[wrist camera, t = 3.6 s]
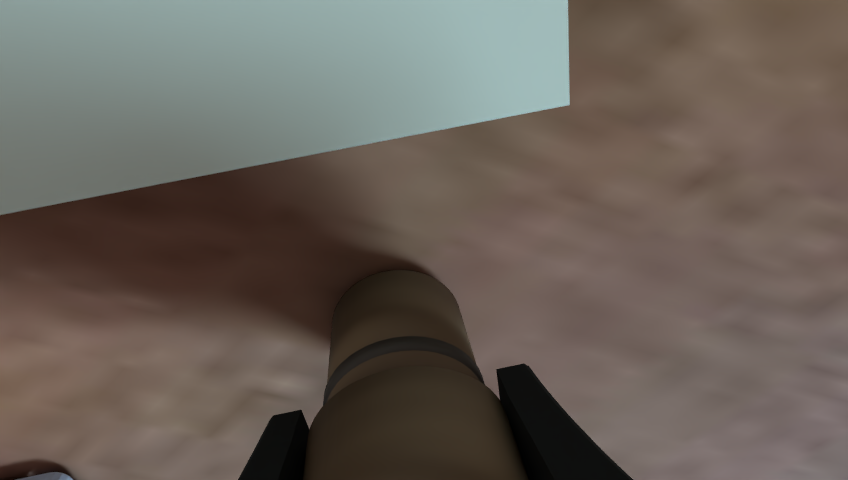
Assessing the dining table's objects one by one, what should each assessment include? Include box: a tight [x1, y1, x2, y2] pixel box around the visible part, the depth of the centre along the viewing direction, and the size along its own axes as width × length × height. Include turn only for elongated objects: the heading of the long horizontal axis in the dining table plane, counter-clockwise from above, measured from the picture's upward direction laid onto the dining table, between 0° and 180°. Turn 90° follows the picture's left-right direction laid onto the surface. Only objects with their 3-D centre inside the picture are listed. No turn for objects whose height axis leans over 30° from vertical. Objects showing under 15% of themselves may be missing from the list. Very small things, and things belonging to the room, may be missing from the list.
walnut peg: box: [303, 270, 529, 480], centre depth 10 cm, size 4×4×9 cm
